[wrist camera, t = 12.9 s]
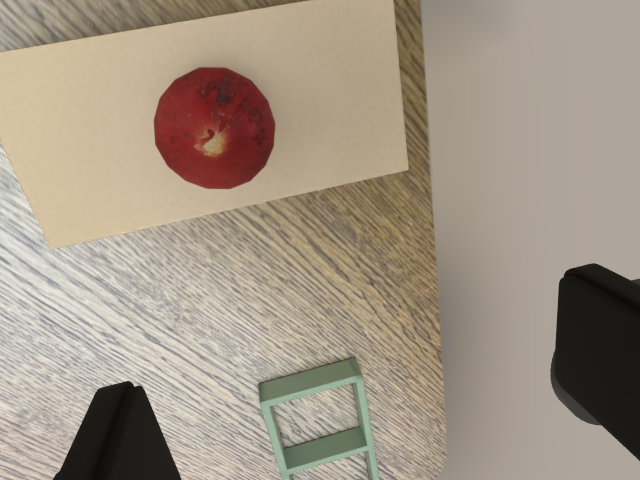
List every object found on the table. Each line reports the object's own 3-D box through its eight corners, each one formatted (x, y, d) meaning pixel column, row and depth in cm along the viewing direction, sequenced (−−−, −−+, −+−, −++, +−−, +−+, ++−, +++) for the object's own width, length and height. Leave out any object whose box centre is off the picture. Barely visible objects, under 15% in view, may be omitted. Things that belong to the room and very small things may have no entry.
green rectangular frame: (354, 357, 40) (362, 374, 38) (376, 486, 47) (384, 507, 45) (257, 383, 39) (259, 402, 36) (295, 512, 46) (298, 534, 43)
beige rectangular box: (360, 4, 29) (392, -14, 23) (377, 154, 33) (408, 170, 27) (20, 62, 26) (-39, 58, 21) (84, 218, 31) (50, 250, 25)
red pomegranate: (185, 49, 22) (164, 35, 15) (284, 96, 24) (307, 103, 17) (152, 150, 24) (117, 181, 17) (247, 187, 26) (254, 230, 18)
